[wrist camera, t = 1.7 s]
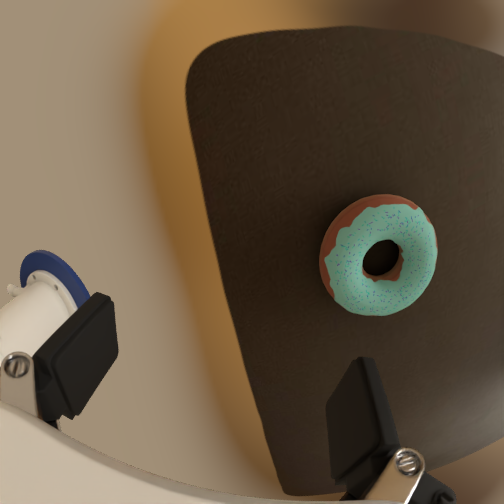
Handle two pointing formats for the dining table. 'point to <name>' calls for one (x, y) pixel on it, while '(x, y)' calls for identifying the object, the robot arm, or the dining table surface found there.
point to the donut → (360, 241)
